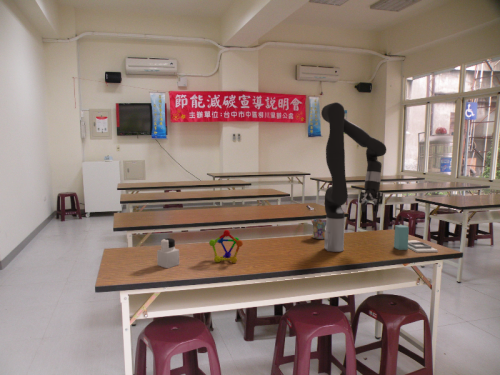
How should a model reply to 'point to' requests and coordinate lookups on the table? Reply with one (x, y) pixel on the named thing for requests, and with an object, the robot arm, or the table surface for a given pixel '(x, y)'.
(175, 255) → the grey block with knob
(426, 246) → the baseplate
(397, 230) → the pillar
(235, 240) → the educational toy
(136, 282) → the table surface
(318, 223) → the mug
